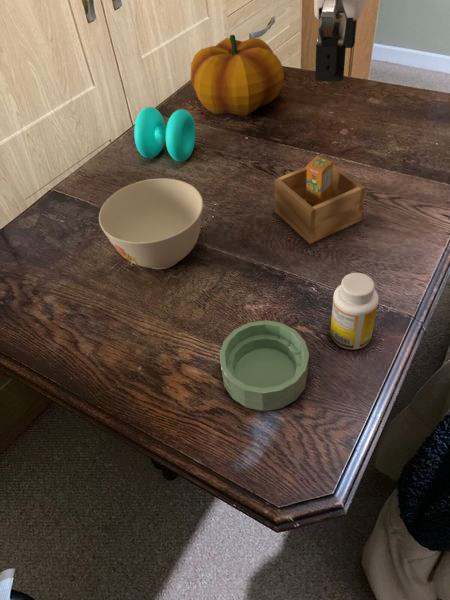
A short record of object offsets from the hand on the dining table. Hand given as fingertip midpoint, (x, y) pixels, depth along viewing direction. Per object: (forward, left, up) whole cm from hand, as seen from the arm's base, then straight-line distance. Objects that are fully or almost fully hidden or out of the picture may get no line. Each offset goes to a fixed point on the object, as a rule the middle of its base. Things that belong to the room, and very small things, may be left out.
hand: (335, 62), depth 60 cm
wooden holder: (-3, -6, -29) cm, 29 cm away
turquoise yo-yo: (+10, -40, -29) cm, 50 cm away
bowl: (+24, -12, -29) cm, 39 cm away
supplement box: (-3, -6, -28) cm, 29 cm away
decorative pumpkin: (-13, -51, -29) cm, 60 cm away
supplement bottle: (+9, +18, -29) cm, 35 cm away
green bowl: (+22, +17, -29) cm, 40 cm away
